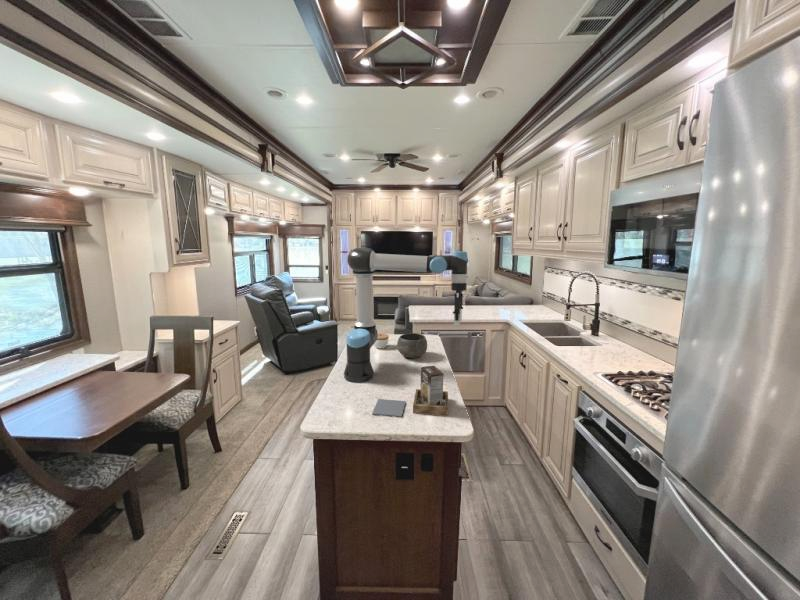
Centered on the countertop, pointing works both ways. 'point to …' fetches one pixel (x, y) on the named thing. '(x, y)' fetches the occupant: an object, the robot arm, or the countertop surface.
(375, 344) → the lidded jar
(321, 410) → the countertop surface
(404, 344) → the bowl
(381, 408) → the slate mat
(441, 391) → the coffee box
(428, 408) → the walnut frame
